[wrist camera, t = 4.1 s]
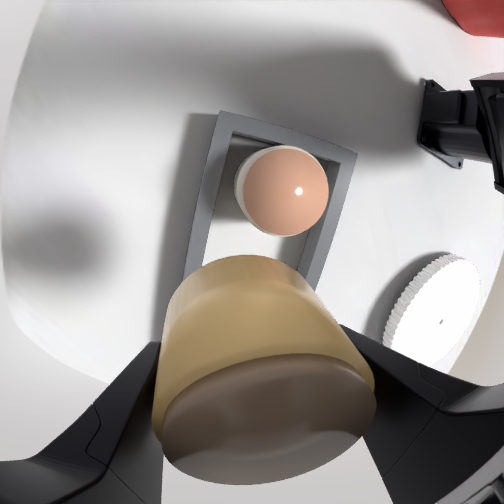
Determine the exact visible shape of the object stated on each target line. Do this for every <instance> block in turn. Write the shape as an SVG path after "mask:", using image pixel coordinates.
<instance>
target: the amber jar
mask: <svg viewBox="0 0 504 504" xmlns="http://www.w3.org/2000/svg"><path fill="white" fill-rule="evenodd" d="M374 388H375V387H374V377H373V373H372V371H371V369H370V367H369V365H368V364H367V362H366V361H365V360H364V358H363V357H362V355H361V354H360V353H359V351H358V350H357V349H356V347H355V346H354V344H353V343H352V342H351V340H350V339H349V338H348V336H347V335H346V334H345V332H344V331H343V329H342V328H341V327H340V325H339V324H338V323H337V321H336V320H335V319H334V317H333V316H332V315H331V313H330V312H329V311H328V309H327V308H326V307H325V305H324V304H323V303H322V301H321V300H320V299H319V297H318V296H317V295H316V293H315V292H314V291H313V289H312V288H311V287H310V285H309V284H308V283H307V281H306V280H305V279H304V278H303V277H302V276H301V275H300V274H299V273H298V272H297V271H296V270H294V269H293V268H292V267H290V266H288V265H287V264H285V263H283V262H280V261H278V260H276V259H272V258H269V257H265V256H257V255H238V256H230V257H226V258H222V259H218V260H216V261H213V262H211V263H208V264H206V265H204V266H202V267H201V268H199V269H197V270H196V271H194V272H193V273H192V274H190V275H189V276H188V277H187V278H186V279H185V280H184V281H183V282H182V283H181V284H180V285H179V287H178V288H177V289H176V290H175V292H174V294H173V296H172V297H171V300H170V302H169V305H168V308H167V312H166V317H165V323H164V329H163V335H162V342H161V348H160V355H159V362H158V369H157V376H156V384H155V392H154V401H153V411H152V428H153V431H154V433H155V436H156V437H157V439H158V441H159V442H160V443H161V444H162V450H163V453H164V455H165V457H166V458H167V460H168V461H169V462H170V463H171V464H172V465H173V466H174V467H176V468H177V469H178V470H180V471H181V472H183V473H185V474H187V475H190V476H192V477H195V478H197V479H201V480H204V481H208V482H214V483H219V484H228V485H253V484H262V483H270V482H275V481H280V480H284V479H288V478H292V477H295V476H298V475H301V474H303V473H306V472H309V471H311V470H314V469H316V468H318V467H320V466H322V465H324V464H326V463H328V462H330V461H331V460H333V459H334V458H336V457H338V456H339V455H341V454H342V453H343V452H345V451H346V450H348V449H349V448H350V447H351V446H352V445H353V444H355V443H356V442H357V441H358V439H360V438H361V436H362V435H363V434H364V433H365V432H366V430H367V429H368V427H369V426H370V424H371V422H372V420H373V418H374V416H375V412H376V398H375V395H374Z"/></svg>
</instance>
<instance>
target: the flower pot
mask: <svg viewBox="0 0 504 504" xmlns="http://www.w3.org/2000/svg"><path fill="white" fill-rule="evenodd" d="M442 2H443V3H444V5H445V7H446V9H447V10H448V12H449V13H450V14H451V16H452V17H453V18H454V19H455V20H456V21H457V22H458V24H459V25H460V26H461V27H462V28H463V29H464V30H465V31H466V32H468V33H469V34H471V35H473V36H486V37H499V38H504V0H442Z"/></svg>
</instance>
